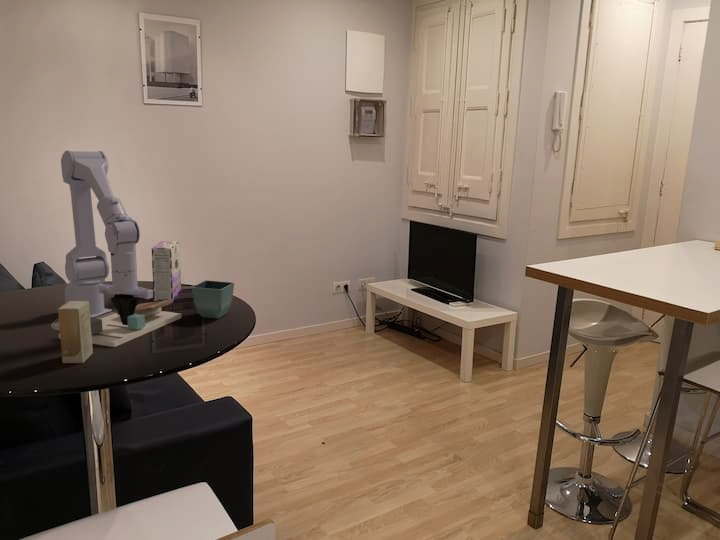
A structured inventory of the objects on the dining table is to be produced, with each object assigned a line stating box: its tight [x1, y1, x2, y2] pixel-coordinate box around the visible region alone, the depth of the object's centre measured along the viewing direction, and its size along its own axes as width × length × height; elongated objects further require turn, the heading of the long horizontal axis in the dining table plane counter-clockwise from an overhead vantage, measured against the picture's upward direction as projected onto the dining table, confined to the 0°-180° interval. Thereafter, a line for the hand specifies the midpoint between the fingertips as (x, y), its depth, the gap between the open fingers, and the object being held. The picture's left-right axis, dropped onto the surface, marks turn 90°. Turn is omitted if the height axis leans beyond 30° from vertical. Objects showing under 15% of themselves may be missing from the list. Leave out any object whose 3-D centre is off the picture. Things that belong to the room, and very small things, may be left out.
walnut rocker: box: [116, 300, 174, 315], centre depth 153 cm, size 11×9×1 cm
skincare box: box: [57, 301, 94, 364], centre depth 124 cm, size 6×4×12 cm
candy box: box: [151, 240, 182, 302], centre depth 179 cm, size 14×6×16 cm, turn 6°
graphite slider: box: [90, 317, 103, 335], centre depth 138 cm, size 3×3×3 cm
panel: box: [58, 307, 182, 348], centre depth 148 cm, size 16×26×3 cm, turn 162°
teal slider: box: [127, 314, 145, 330], centre depth 143 cm, size 3×3×3 cm
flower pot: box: [191, 280, 235, 319], centre depth 159 cm, size 9×9×9 cm
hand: (127, 323), depth 144 cm, fingers closed
